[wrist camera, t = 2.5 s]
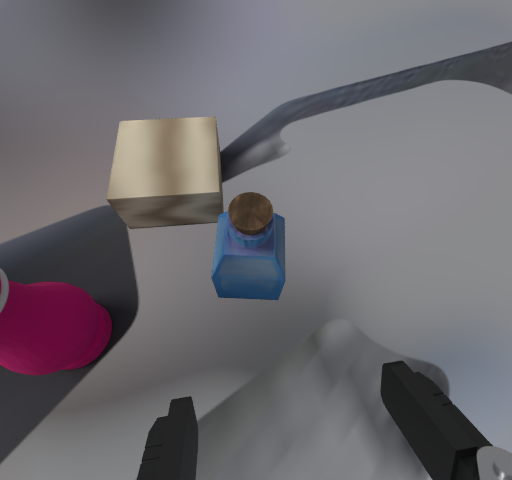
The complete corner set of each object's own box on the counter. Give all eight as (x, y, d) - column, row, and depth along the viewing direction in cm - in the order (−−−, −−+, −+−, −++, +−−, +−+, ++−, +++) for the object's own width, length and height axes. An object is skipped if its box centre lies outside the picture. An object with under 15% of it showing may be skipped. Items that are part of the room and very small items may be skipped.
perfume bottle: (223, 244, 31) (211, 173, 21) (278, 246, 31) (293, 177, 21) (218, 297, 29) (200, 248, 18) (278, 300, 29) (295, 252, 18)
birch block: (130, 229, 32) (106, 199, 27) (138, 158, 37) (120, 121, 32) (224, 222, 33) (219, 191, 28) (220, 153, 38) (215, 116, 32)
